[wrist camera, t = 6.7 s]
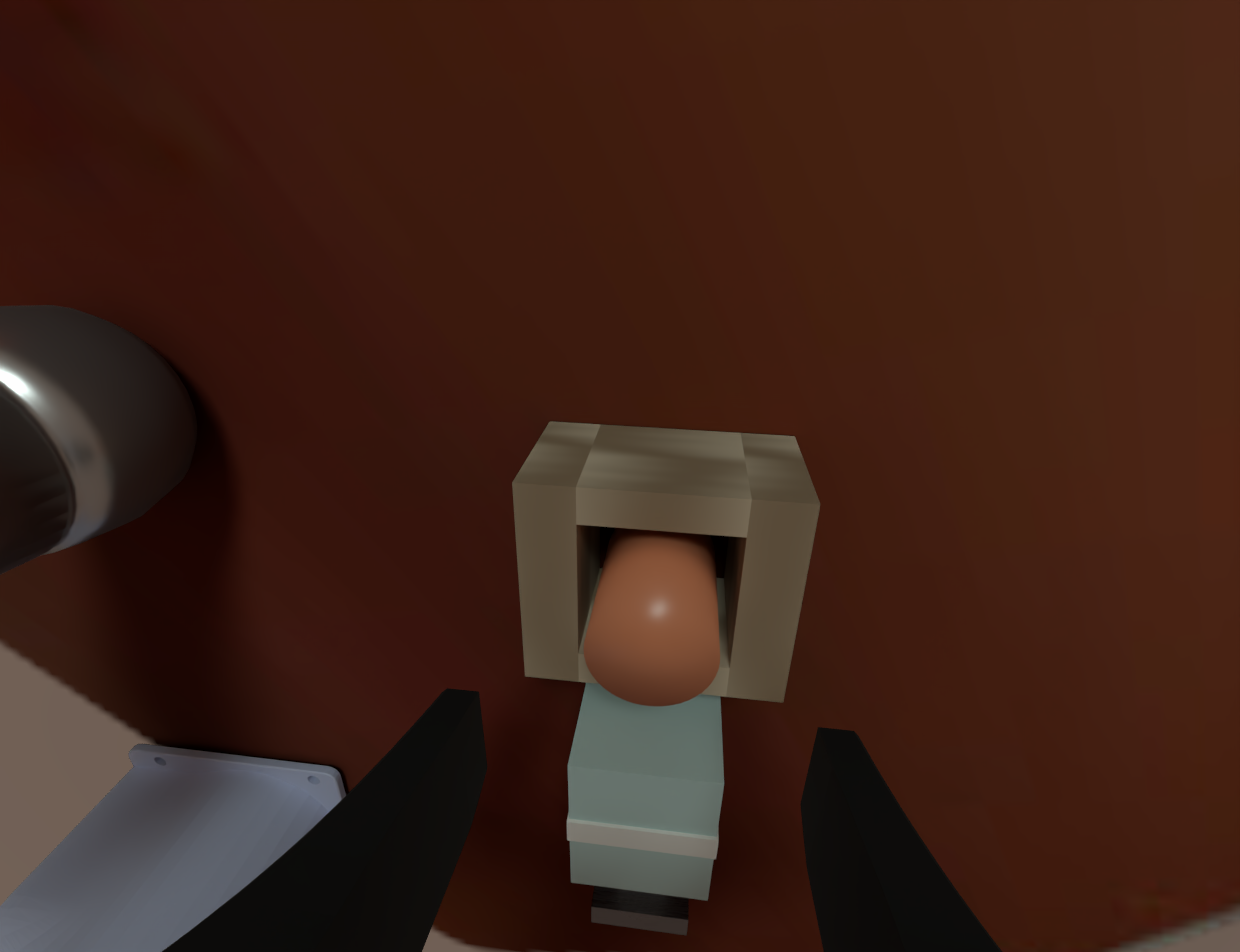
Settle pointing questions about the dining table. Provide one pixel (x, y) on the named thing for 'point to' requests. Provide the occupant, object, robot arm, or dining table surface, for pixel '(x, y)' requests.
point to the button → (655, 617)
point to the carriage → (645, 794)
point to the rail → (640, 910)
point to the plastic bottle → (82, 429)
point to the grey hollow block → (674, 502)
